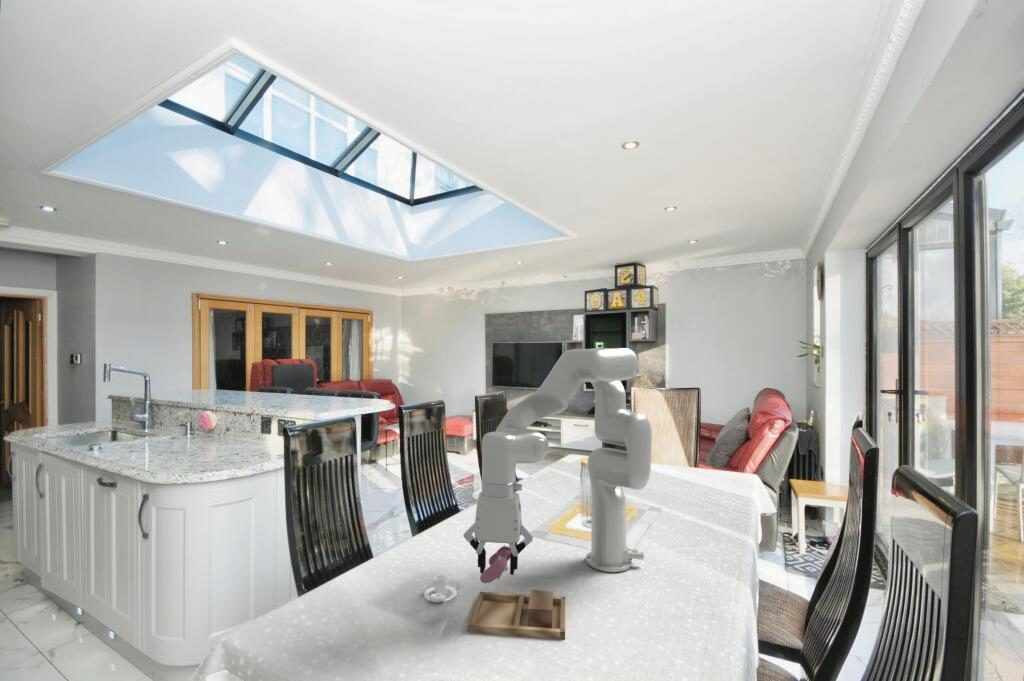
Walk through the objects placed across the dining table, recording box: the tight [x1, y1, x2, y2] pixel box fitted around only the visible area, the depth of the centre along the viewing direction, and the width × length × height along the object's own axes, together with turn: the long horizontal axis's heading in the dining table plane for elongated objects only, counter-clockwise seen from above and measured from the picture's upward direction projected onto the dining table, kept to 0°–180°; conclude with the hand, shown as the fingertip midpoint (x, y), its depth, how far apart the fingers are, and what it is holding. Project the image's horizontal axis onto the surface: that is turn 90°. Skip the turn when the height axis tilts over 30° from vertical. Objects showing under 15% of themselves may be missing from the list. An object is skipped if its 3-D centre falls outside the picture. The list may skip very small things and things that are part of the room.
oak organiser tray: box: [467, 591, 566, 640], centre depth 102 cm, size 20×14×2 cm
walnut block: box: [528, 589, 554, 628], centre depth 102 cm, size 5×8×4 cm, turn 173°
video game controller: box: [479, 544, 512, 584], centre depth 103 cm, size 10×5×7 cm, turn 170°
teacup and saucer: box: [423, 574, 458, 603], centre depth 113 cm, size 9×8×4 cm
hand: (497, 570), depth 103 cm, fingers closed on video game controller, 6 cm apart
